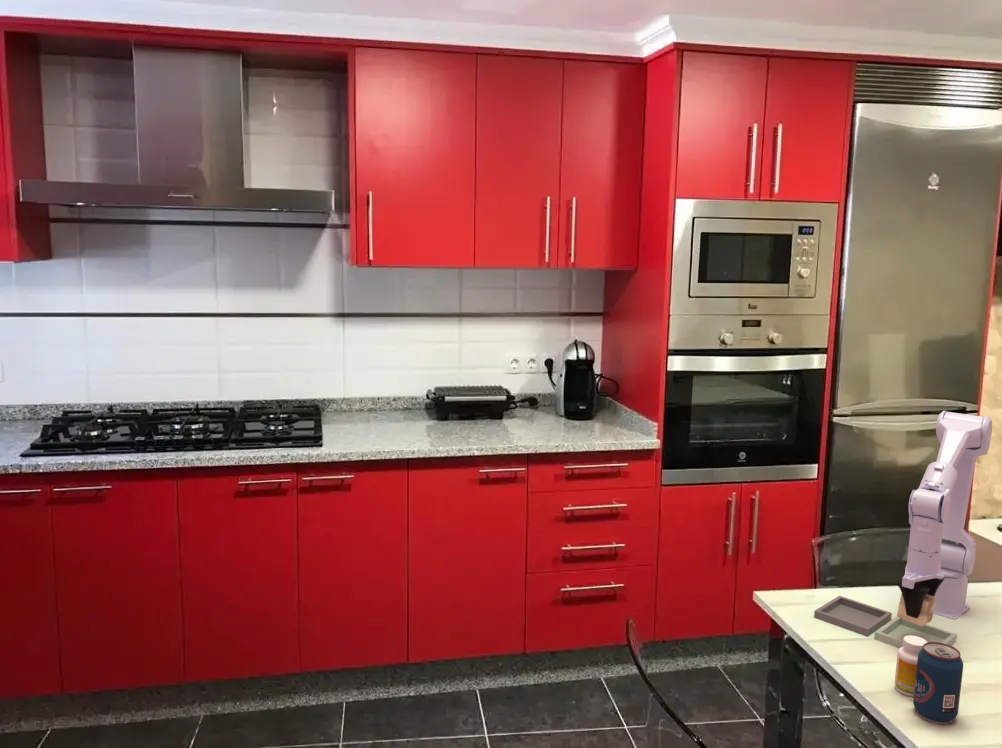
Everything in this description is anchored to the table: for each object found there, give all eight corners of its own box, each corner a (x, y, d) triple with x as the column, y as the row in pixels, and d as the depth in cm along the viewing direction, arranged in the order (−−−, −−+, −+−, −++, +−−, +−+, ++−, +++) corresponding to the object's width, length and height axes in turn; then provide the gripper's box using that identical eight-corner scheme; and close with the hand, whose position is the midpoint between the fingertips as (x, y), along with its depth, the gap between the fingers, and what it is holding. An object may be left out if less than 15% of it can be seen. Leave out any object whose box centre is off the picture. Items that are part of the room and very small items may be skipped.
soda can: (904, 703, 149) (910, 640, 147) (942, 702, 149) (948, 639, 147) (926, 726, 142) (933, 660, 140) (966, 725, 142) (973, 659, 140)
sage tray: (897, 623, 180) (898, 615, 179) (956, 642, 171) (956, 634, 171) (874, 640, 172) (875, 631, 172) (933, 661, 164) (934, 652, 163)
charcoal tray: (838, 603, 189) (839, 595, 189) (891, 620, 181) (892, 612, 180) (813, 618, 181) (814, 610, 181) (867, 637, 173) (868, 629, 173)
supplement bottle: (930, 699, 150) (936, 649, 148) (898, 696, 151) (903, 645, 150) (922, 684, 155) (927, 635, 154) (891, 680, 156) (895, 631, 155)
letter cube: (906, 610, 175) (911, 587, 174) (931, 620, 171) (936, 597, 170) (896, 616, 171) (900, 593, 170) (921, 627, 168) (926, 603, 167)
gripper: (931, 563, 161) (924, 629, 163) (959, 545, 170) (952, 608, 173) (893, 552, 166) (887, 617, 168) (923, 535, 175) (916, 597, 178)
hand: (918, 612), depth 171 cm, fingers closed on letter cube, 5 cm apart
